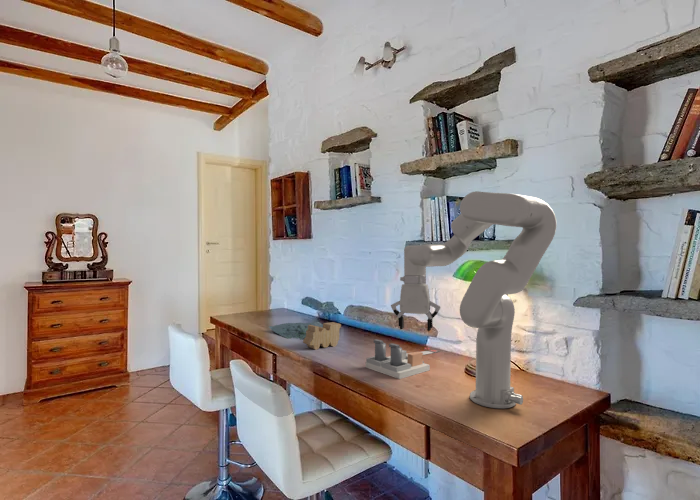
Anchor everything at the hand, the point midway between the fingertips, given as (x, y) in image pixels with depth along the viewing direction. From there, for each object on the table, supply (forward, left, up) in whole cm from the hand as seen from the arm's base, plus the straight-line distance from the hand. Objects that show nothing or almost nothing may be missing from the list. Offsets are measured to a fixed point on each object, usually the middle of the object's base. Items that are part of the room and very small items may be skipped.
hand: (415, 329), depth 140 cm
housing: (+8, 0, -16) cm, 18 cm away
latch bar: (+3, -4, -14) cm, 15 cm away
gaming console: (+20, -23, -16) cm, 34 cm away
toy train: (+52, +2, -16) cm, 54 cm away
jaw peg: (+5, +4, -14) cm, 15 cm away
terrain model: (+82, -8, -17) cm, 84 cm away
